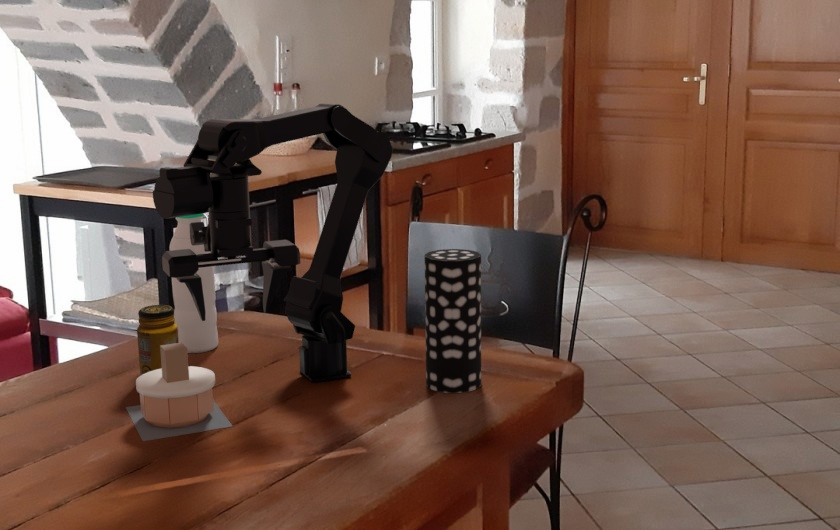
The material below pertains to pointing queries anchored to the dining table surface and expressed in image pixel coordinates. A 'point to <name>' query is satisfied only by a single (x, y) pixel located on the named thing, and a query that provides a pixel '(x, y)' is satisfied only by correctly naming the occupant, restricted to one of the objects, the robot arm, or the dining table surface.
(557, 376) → the dining table surface
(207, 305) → the water bottle
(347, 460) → the dining table surface
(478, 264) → the spotted tube
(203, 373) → the lid
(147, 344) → the condiment
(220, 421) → the mat
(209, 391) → the bowl
